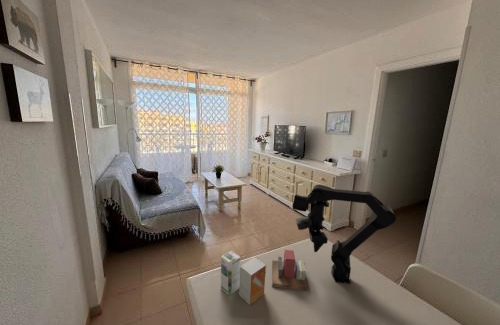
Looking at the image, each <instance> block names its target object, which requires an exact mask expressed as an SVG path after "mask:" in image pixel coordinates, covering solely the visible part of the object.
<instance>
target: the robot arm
mask: <svg viewBox="0 0 500 325" xmlns="http://www.w3.org/2000/svg"><path fill="white" fill-rule="evenodd" d="M329 201H341V202H342V201H343V202H348V203H349V202H351V203H361V204H366V205H367V206H368V207H369V208H370V210H371V211H372V213H371V215H370V217H369V219H368V220H367V221H366V222H365V223H363V224H362V225H361V227H359V228H357V230H355V232H354V233H353V234H351V235H350V236H349V237H348V238H347V239H346V240H344V241H340V240H336V242H335V243H332V246H331V252H330V254H331V255H330V256H331V257H330V260H331V261H332V263H333V264H332V265H331V271H330V274H331V276H332V278H333V280H334V282H335V283H341V284H352V281H351V280H350V278H351V276H350V275H351V273H352V272H351V270H352V267H351V256H352V253H353V252H354V251H355V250H356V249H357V248H358V247H360V246H361V245H362V244H363V243H365V242H366V241H367V240H368V239H369V238H370V237H371V236H373V235H375V233H376V232H377V231H379V230H384V229H386V228H389V227H390V226H392V225H394V224H395V223H396V221H397V217H396V215H395V213H394V210H393V209H392V208H391V206H389V205H387V204H384V203H383V202H382V201H381V200H380V199H379V198H377V197H376V196H375V195H374V193H372V192H371V191H361V190H360V191H359V190H358V191H357V190H348V189H338V188H337V189H336V188H333V187H330V186H327V185H323V184H315V186H313V188H312V190H311V192H310V193H308V195H307V196H305V195H299V194H295V195H294V198H293V203H292V210H293V211H294V210H295V211H298V212H299V211H300V212H305V213H306V212H307V211H309V212H308V213H307V215H305V216H303V217H297V218H296V219H295V223H296V226H297V228H298V230H299V231H304V230H306V229H308V234H309V240H310V242H311V243H312V244H313V252H314V253H317V252H318V251H319V250H320V249H321V248H322V246H324V244H328V240H329V239H328V237H327V235H326V233H325V232H323V230H324V226H323V223H324V221H325V217H324V213H325V208H329V207H330V202H329ZM321 230H322V231H321Z"/></svg>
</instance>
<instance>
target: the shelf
mask: <svg viewBox="0 0 500 325" xmlns="http://www.w3.org/2000/svg"><path fill="white" fill-rule="evenodd" d="M271 262H272V264H271V280H272V282H271V283H272V284H271V285H272V286H271V287H273V288H274V287H275V288H281V289H282V288H283V289H293V290H301V291H302V290H304V291H307V290H308V285H307V284H308V282H307V279H306V278H305V280H302V279H299V280H297V279H296V274H295V268H294V278H287V277H284V269H283V271H282V279H279V278H278V260H274V259H273V260H272V261H271ZM283 266H284V260H282V268H283Z"/></svg>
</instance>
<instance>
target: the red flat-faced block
mask: <svg viewBox="0 0 500 325" xmlns="http://www.w3.org/2000/svg"><path fill="white" fill-rule="evenodd" d="M295 259H296V256H295V251H294V249H293V250H291V249H284V253H283V261H284V266H283V269H284V277H287V278H294V268H295Z"/></svg>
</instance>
